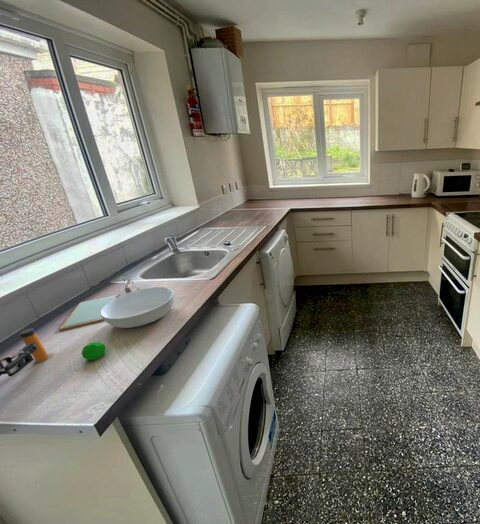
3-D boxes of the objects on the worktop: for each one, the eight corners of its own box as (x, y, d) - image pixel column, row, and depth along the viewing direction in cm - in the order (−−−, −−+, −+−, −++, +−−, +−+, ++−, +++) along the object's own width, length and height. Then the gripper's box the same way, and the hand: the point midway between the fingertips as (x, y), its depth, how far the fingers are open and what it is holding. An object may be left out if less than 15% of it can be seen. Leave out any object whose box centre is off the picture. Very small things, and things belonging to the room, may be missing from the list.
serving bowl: (90, 337, 91) (82, 319, 88) (138, 303, 110) (131, 287, 107) (154, 335, 90) (147, 317, 87) (190, 301, 109) (185, 285, 106)
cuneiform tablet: (123, 278, 119) (119, 289, 109) (134, 275, 121) (131, 286, 111) (129, 290, 121) (125, 302, 112) (139, 287, 123) (136, 299, 113)
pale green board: (60, 332, 94) (59, 328, 94) (81, 305, 111) (79, 302, 111) (105, 321, 99) (104, 318, 99) (118, 297, 116) (117, 294, 115)
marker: (34, 364, 80) (16, 335, 76) (39, 359, 82) (22, 330, 78) (47, 361, 81) (30, 332, 77) (51, 355, 83) (35, 327, 79)
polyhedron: (95, 364, 79) (88, 350, 77) (81, 363, 79) (73, 349, 78) (112, 352, 83) (106, 339, 81) (98, 351, 84) (92, 337, 82)
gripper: (-22, 377, 59) (40, 331, 74) (-107, 391, 57) (-26, 341, 72) (-3, 404, 62) (53, 354, 77) (-83, 418, 60) (-10, 364, 75)
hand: (15, 348), depth 74 cm, fingers open, 8 cm apart
